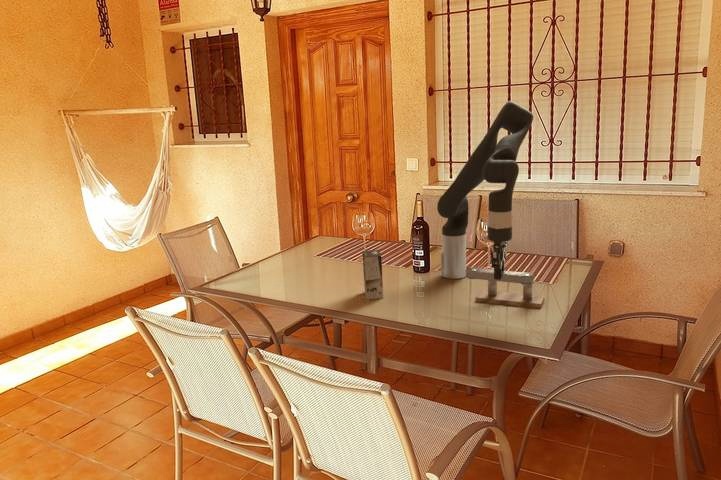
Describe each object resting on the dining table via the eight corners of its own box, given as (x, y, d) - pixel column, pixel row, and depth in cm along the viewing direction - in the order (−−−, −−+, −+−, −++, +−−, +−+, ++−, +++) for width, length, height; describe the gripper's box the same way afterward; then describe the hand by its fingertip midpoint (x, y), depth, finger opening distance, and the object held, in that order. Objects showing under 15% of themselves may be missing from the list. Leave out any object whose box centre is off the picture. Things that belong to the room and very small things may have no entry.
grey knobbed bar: (464, 278, 188) (464, 270, 188) (467, 274, 192) (467, 267, 192) (532, 285, 179) (532, 277, 179) (534, 280, 183) (535, 273, 183)
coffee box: (383, 298, 212) (381, 255, 208) (366, 299, 211) (364, 257, 207) (380, 290, 221) (378, 249, 217) (363, 291, 220) (361, 250, 216)
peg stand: (475, 301, 204) (475, 275, 202) (480, 293, 211) (480, 268, 209) (540, 308, 195) (541, 281, 192) (544, 300, 202) (544, 273, 199)
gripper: (492, 218, 189) (492, 269, 193) (482, 229, 177) (481, 283, 181) (516, 220, 186) (515, 271, 190) (507, 230, 173) (506, 285, 178)
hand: (499, 277), depth 186 cm, fingers closed on grey knobbed bar, 3 cm apart
